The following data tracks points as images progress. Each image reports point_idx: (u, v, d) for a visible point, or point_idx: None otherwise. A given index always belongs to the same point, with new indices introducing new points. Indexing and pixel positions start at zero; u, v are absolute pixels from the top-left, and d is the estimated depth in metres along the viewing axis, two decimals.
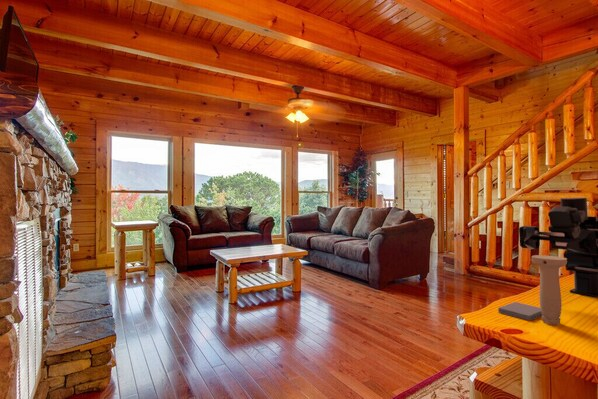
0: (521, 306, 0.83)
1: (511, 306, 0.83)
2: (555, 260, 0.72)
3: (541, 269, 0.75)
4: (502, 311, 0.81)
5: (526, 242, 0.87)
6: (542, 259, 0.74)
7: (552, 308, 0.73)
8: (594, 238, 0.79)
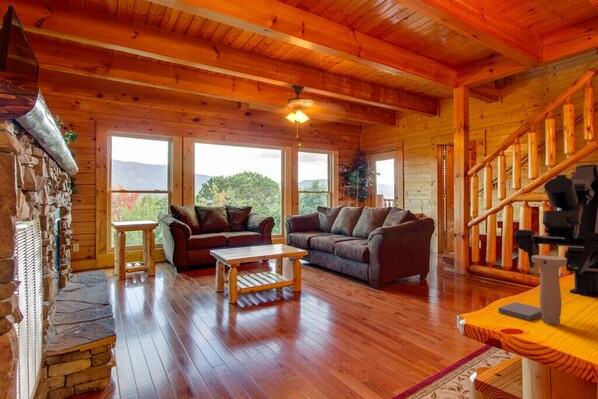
0: (521, 306, 0.83)
1: (511, 306, 0.83)
2: (555, 260, 0.72)
3: (541, 269, 0.75)
4: (502, 311, 0.81)
5: (532, 265, 0.81)
6: (542, 259, 0.74)
7: (552, 308, 0.73)
8: None
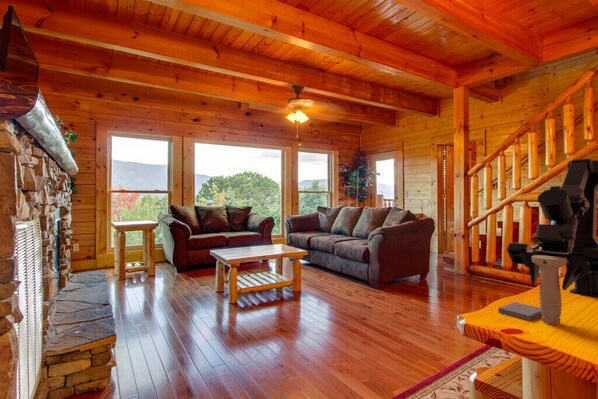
0: (521, 306, 0.83)
1: (511, 306, 0.83)
2: (555, 260, 0.72)
3: (541, 269, 0.75)
4: (502, 311, 0.81)
5: (534, 283, 0.76)
6: (542, 259, 0.74)
7: (552, 308, 0.73)
8: (585, 263, 0.71)
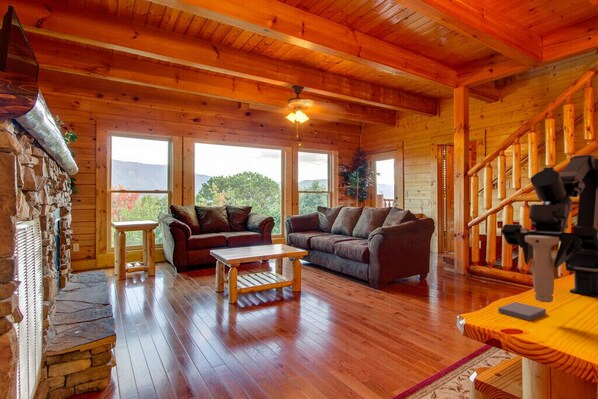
0: (521, 306, 0.83)
1: (511, 306, 0.83)
2: (547, 239, 0.74)
3: (534, 248, 0.76)
4: (502, 311, 0.81)
5: (527, 262, 0.78)
6: (534, 238, 0.75)
7: (544, 286, 0.75)
8: (577, 242, 0.73)
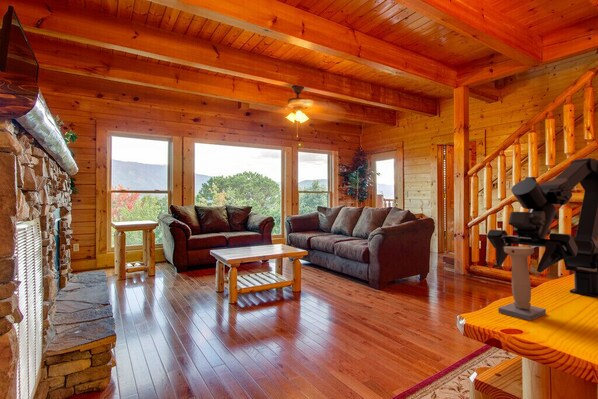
0: None
1: (511, 306, 0.83)
2: (521, 249, 0.80)
3: (511, 258, 0.82)
4: (502, 311, 0.81)
5: (499, 264, 0.85)
6: (511, 249, 0.81)
7: (521, 294, 0.80)
8: (561, 248, 0.76)
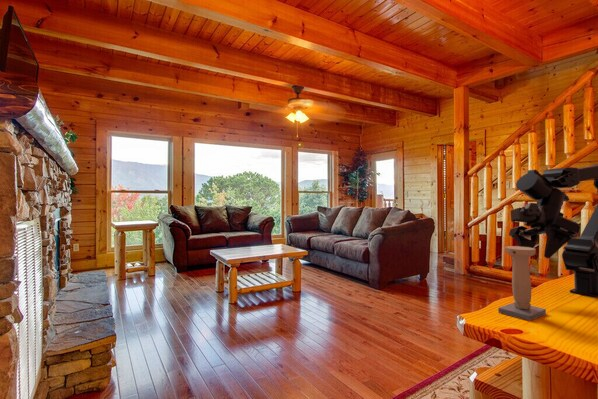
0: None
1: (511, 306, 0.83)
2: (523, 250, 0.79)
3: (512, 259, 0.82)
4: (502, 311, 0.81)
5: None
6: (512, 249, 0.81)
7: (521, 294, 0.80)
8: (558, 231, 0.82)
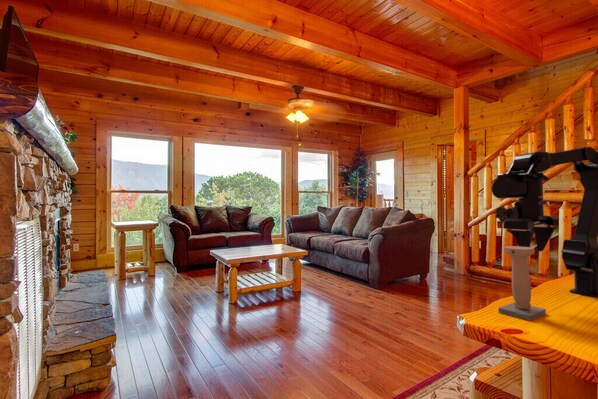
0: None
1: (511, 306, 0.83)
2: (522, 250, 0.79)
3: (512, 258, 0.82)
4: (502, 311, 0.81)
5: (540, 250, 0.94)
6: (511, 249, 0.81)
7: (521, 294, 0.80)
8: (512, 231, 0.89)
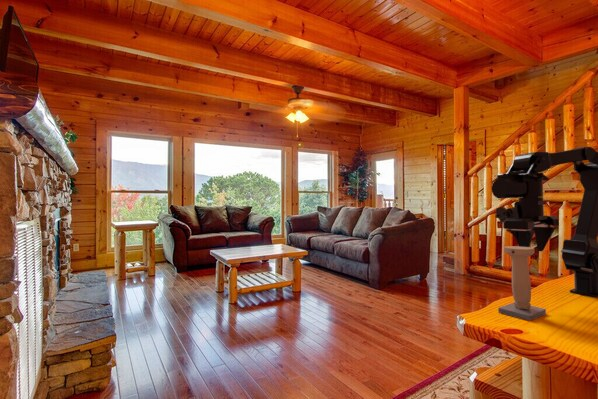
0: None
1: (511, 306, 0.83)
2: (522, 250, 0.79)
3: (512, 258, 0.82)
4: (502, 311, 0.81)
5: (540, 250, 0.94)
6: (511, 249, 0.81)
7: (521, 294, 0.80)
8: (512, 231, 0.89)
